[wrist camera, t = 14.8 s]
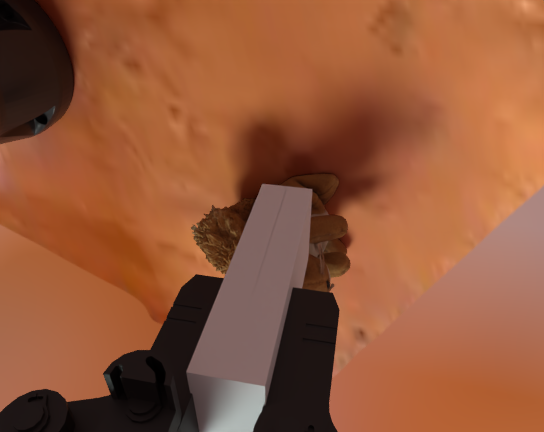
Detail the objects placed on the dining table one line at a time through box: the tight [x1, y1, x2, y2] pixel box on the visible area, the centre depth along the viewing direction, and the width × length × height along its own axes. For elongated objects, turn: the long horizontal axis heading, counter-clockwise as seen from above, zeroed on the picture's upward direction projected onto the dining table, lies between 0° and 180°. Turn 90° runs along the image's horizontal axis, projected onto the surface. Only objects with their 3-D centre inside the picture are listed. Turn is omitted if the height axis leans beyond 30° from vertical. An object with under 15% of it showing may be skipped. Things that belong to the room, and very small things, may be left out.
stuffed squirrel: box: [191, 174, 350, 292], centre depth 42 cm, size 10×14×13 cm
